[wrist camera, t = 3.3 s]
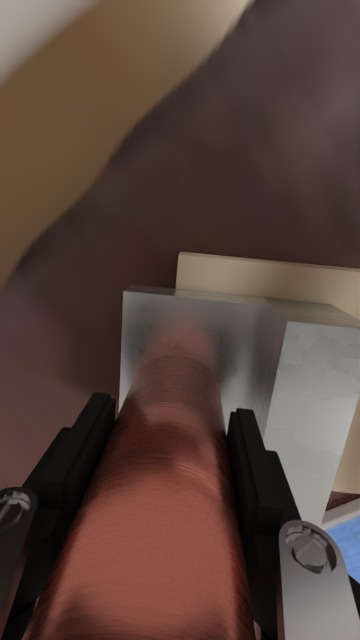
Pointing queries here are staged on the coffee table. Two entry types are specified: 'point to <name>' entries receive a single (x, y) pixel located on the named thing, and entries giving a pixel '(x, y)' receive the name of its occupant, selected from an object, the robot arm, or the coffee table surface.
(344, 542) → the tablet computer
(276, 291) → the base
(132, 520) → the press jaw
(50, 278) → the coffee table surface
